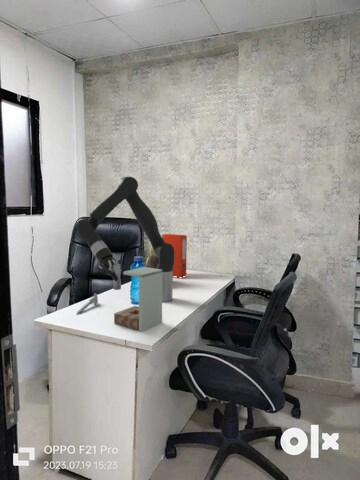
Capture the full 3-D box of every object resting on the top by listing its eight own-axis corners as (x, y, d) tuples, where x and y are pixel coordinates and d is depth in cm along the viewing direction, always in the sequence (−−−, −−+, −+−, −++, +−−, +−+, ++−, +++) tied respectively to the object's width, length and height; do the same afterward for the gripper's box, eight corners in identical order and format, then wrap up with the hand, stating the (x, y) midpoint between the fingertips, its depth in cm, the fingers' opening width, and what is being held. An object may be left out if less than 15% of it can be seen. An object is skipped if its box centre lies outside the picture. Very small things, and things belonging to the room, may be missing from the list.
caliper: (96, 303, 189) (95, 292, 188) (97, 303, 189) (97, 292, 188) (75, 315, 169) (75, 302, 169) (77, 315, 169) (77, 303, 168)
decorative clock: (153, 278, 252) (153, 238, 248) (169, 280, 247) (170, 239, 244) (135, 287, 226) (135, 242, 222) (153, 289, 221) (153, 243, 218)
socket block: (114, 323, 157) (114, 313, 156) (134, 315, 168) (134, 305, 168) (137, 330, 149) (137, 319, 148) (156, 321, 160) (157, 311, 160)
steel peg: (114, 287, 165) (113, 263, 164) (121, 287, 165) (121, 263, 164) (112, 289, 162) (112, 265, 160) (120, 289, 162) (119, 265, 160)
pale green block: (123, 326, 153) (123, 271, 151) (144, 318, 165) (143, 266, 162) (142, 331, 147) (142, 274, 144) (162, 322, 159) (162, 269, 156)
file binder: (167, 274, 268) (168, 233, 265) (186, 276, 259) (186, 235, 255) (161, 275, 261) (161, 234, 258) (180, 278, 252) (180, 235, 249)
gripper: (94, 248, 160) (113, 277, 154) (115, 245, 171) (134, 271, 166) (86, 258, 163) (105, 287, 158) (108, 254, 175) (126, 281, 169)
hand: (120, 279), depth 162 cm, fingers closed on steel peg, 3 cm apart
